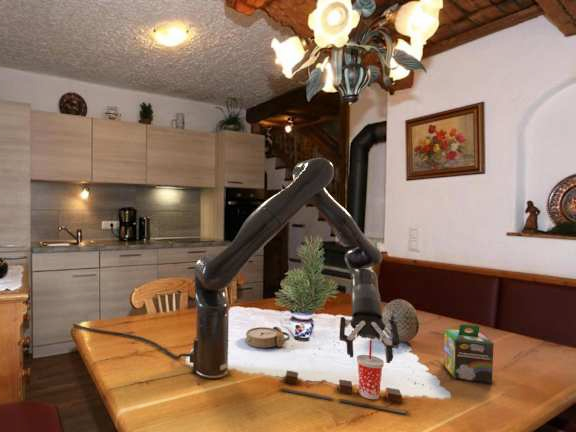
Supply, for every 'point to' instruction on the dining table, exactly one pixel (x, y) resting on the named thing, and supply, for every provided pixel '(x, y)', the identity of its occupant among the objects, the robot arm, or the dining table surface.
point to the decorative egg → (401, 319)
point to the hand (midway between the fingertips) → (369, 359)
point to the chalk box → (468, 354)
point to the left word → (293, 378)
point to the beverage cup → (369, 375)
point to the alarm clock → (266, 337)
